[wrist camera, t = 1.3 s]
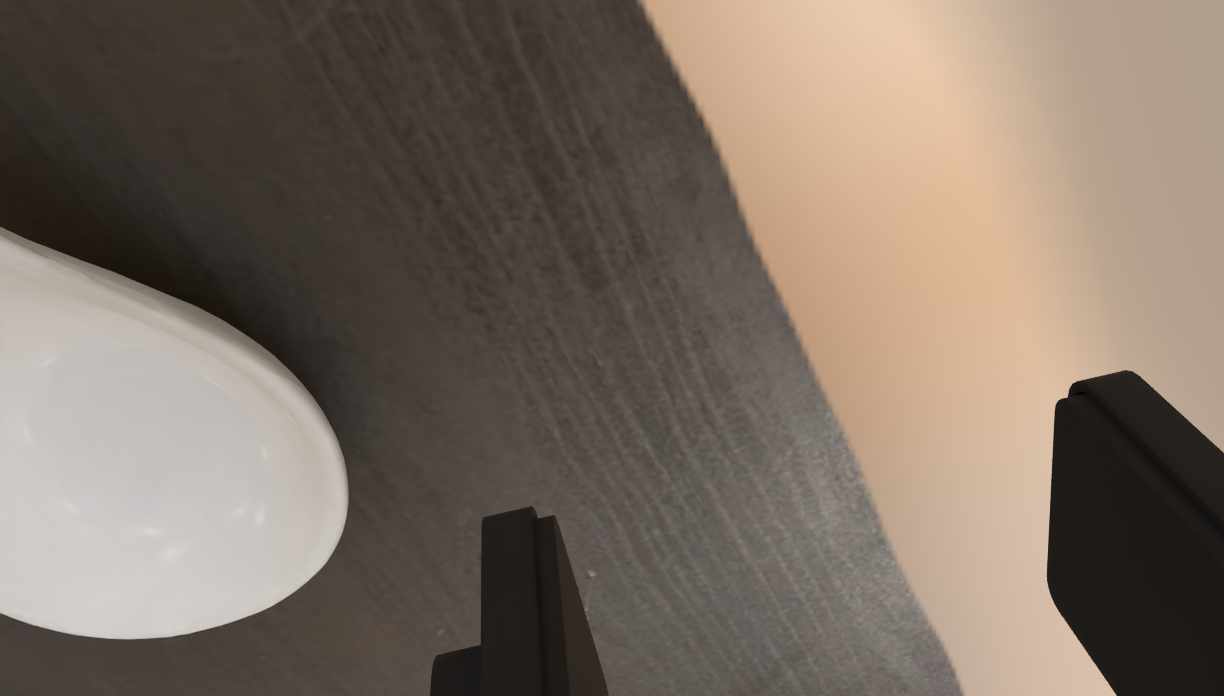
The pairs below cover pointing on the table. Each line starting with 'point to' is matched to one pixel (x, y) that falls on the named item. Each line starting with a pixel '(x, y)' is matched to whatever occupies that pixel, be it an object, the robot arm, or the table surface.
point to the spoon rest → (149, 458)
